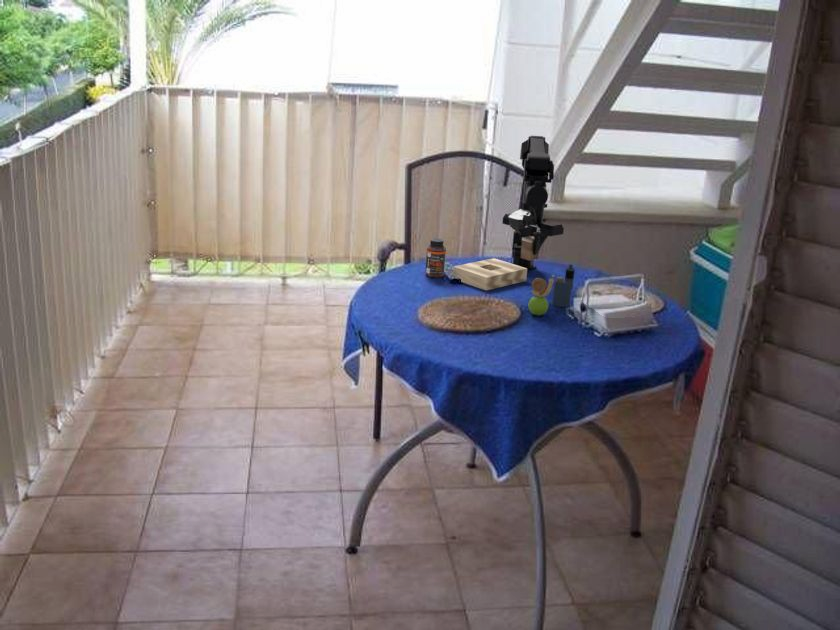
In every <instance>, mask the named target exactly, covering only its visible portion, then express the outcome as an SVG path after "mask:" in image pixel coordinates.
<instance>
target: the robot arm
mask: <svg viewBox="0 0 840 630" xmlns="http://www.w3.org/2000/svg"><path fill="white" fill-rule="evenodd" d="M520 147H521V148H520V153H519V159H520V160H521V167H522V169H523V182H524V188H523V189H524V190H523V197H522V198H523V199H522V200H523V201H522V202H521V203H520V207H519V209H518V210H516V211H514V212H511V213H509V212H508V213H505V214H504V215H503V217H502V224H503V225H506V226H509V227H510V228H512V230H513V233H512V239H511V240H512V241H511V249H512V250H513V251H514V254H513V261H512V262H513V263H512V264H514V265H518V266H521V267H524V268H527V271H528V270H529V271H530V270H534V269H537V268H538V267H537V265H534V260H531V261H529V260H526V259H523V258H521V247H522V237H527V236H533V237H534V246H533V255H536V254H537V253H538V251H539V252H540V251H541V248H542V246H543V244H544V242H546V240H547V238H548V237H554V236H560V235H564V230H565V228H564V225H563V224H562V223H558V222H553V221H552V222H546V221H547V218H546V217H544V213H545V209H546V208H548V203H547V202H548V199H549V194H548V189H547V184H551V183H552V180H554V177H555V176H554V175H555V164H554V161H553V160H551V156H550V154H549V151H550V149H549V147H550V144H549V143H548V142H547V141H546V137H545V136H543V135H530V136H528V138H527V140H525V141H523V142H521V146H520Z"/></svg>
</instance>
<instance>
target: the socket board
mask: <svg viewBox="0 0 840 630" xmlns="http://www.w3.org/2000/svg"><path fill="white" fill-rule="evenodd" d="M452 270H453V271H452V276H453V275H454V276H457V277H459V278H460V279H461V283H463V284H466V285H468V286H473V287H475V288H478V289H480V290H483V291H489V290H494V289H498V288H503V287H506V286H510V285H514V284H515V285H516V284H518V283H519V284H520V283H523V282H527V275H528V270H527V268H524V267H521V266H518V265H514V264H513V263H511V262H507V261H505V260H501V259H498V258H495V257H492V258H489V259H483V260H479V261H478V260H477V261H474V262H469V263H464V264H458V265H454V266H453V269H452Z"/></svg>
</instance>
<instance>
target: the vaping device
mask: <svg viewBox="0 0 840 630" xmlns="http://www.w3.org/2000/svg"><path fill="white" fill-rule="evenodd" d="M573 266H574V264H568V266H567V267H565V275H564V276H565V277H563V276H556V277H555V278H556V279H555V280H554V283H553V292H552V306H553V307H557V308H558V307H560V308H561V307H562V308H570V307H571V297H572V290H573V289H574V277H575V270H576V268H575V267H573Z"/></svg>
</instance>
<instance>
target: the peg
mask: <svg viewBox="0 0 840 630" xmlns="http://www.w3.org/2000/svg"><path fill="white" fill-rule="evenodd" d="M533 246H534V237H533V236H527V237H522V247H521V258H523V259H526V260H529V261H531V260H538V259H539V253H540V250H539V251H538V253H537V254H536V255H533Z"/></svg>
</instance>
